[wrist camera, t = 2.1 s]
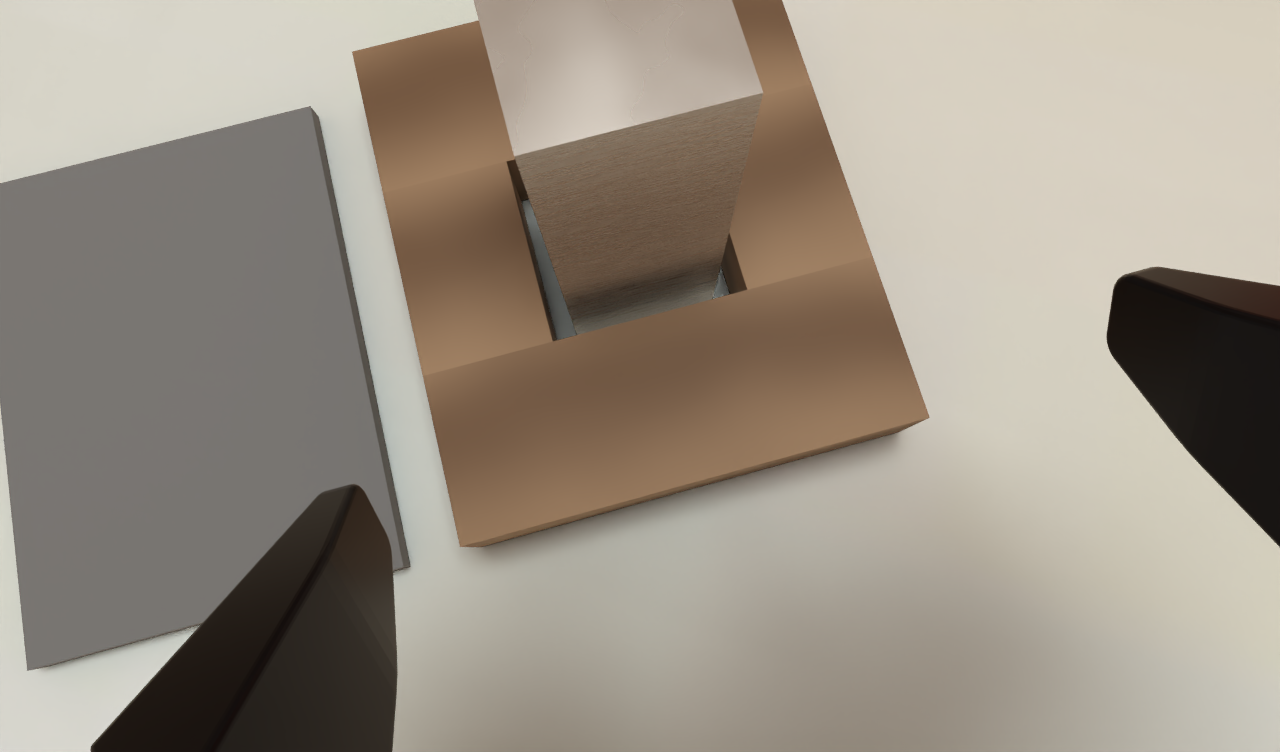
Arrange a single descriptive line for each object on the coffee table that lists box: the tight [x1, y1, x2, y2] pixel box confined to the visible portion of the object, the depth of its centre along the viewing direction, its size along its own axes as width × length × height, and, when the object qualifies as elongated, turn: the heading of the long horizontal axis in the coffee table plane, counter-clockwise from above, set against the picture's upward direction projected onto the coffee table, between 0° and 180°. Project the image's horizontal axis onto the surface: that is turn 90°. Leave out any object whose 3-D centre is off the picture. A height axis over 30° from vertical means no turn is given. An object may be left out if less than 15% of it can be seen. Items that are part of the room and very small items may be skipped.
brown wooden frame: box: [352, 0, 930, 547], centre depth 22 cm, size 14×12×2 cm
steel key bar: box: [474, 0, 763, 335], centre depth 18 cm, size 4×4×11 cm
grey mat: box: [0, 106, 410, 671], centre depth 23 cm, size 14×10×1 cm
